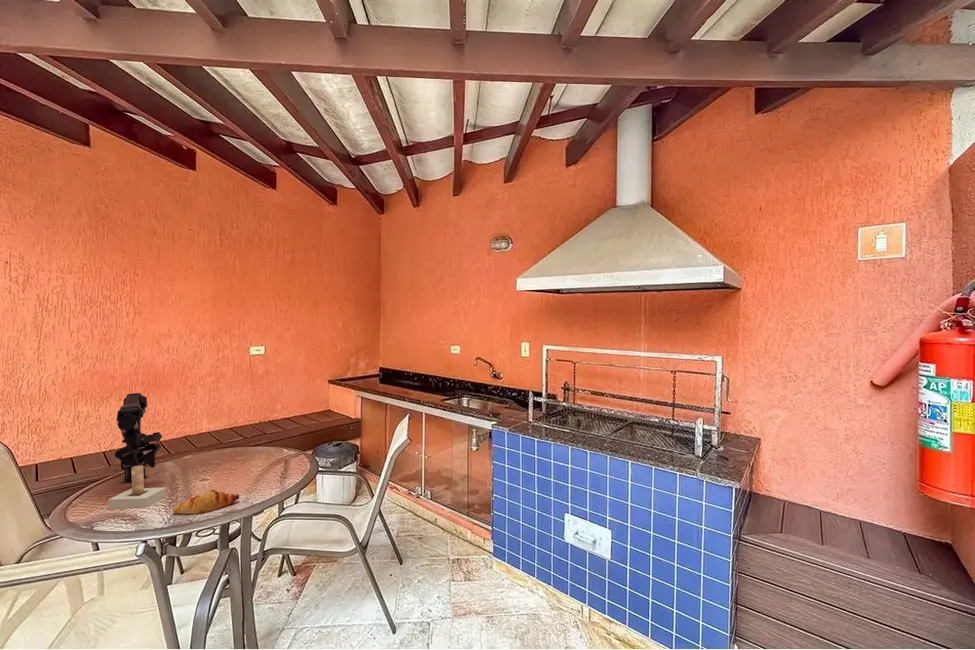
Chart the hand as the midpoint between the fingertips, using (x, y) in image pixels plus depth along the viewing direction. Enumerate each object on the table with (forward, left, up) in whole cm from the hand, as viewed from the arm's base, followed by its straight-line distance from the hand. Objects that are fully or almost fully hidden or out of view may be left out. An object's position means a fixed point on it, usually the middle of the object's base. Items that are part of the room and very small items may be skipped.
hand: (146, 468), depth 166 cm
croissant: (+35, -16, -11) cm, 40 cm away
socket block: (+4, -9, -10) cm, 14 cm away
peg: (+4, -9, -10) cm, 14 cm away
